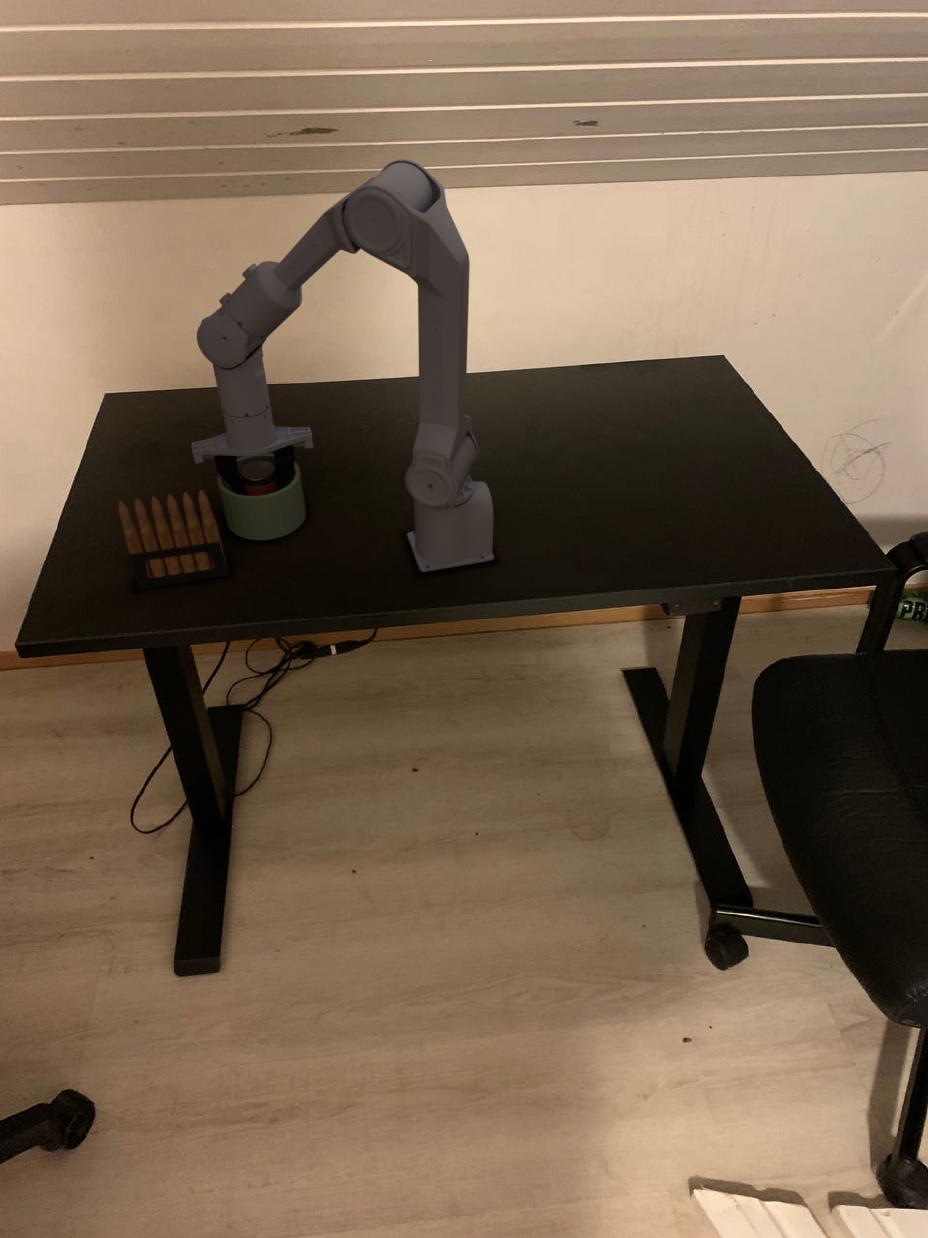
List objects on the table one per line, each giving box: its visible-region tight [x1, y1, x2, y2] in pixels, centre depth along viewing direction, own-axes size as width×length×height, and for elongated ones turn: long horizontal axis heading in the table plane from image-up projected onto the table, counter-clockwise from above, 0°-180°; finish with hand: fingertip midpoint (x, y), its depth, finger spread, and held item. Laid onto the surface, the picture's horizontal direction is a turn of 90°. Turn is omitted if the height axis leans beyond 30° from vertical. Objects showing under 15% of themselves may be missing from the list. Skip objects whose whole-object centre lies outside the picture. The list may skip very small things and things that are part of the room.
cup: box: [216, 452, 307, 541], centre depth 113 cm, size 10×10×6 cm
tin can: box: [240, 461, 279, 496], centre depth 112 cm, size 4×4×6 cm
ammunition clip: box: [118, 489, 230, 590], centre depth 101 cm, size 11×2×12 cm, turn 104°
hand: (263, 499), depth 113 cm, fingers closed on tin can, 4 cm apart
